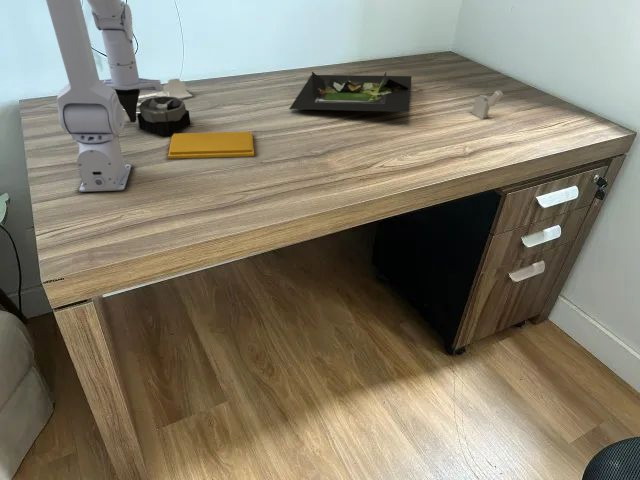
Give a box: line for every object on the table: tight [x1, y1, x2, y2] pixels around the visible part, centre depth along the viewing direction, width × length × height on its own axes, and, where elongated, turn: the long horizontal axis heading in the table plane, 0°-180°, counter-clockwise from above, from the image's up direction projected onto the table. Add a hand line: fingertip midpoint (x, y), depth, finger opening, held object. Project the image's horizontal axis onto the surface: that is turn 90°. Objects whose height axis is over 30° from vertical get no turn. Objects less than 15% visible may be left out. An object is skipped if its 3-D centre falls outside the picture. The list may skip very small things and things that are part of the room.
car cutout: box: [137, 78, 194, 109], centre depth 129 cm, size 15×7×4 cm, turn 126°
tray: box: [167, 131, 255, 160], centre depth 108 cm, size 10×18×1 cm, turn 99°
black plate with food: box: [289, 71, 413, 113], centre depth 134 cm, size 30×8×30 cm
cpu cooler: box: [136, 96, 191, 137], centre depth 114 cm, size 10×6×10 cm
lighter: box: [471, 89, 504, 120], centre depth 127 cm, size 7×2×8 cm, turn 31°
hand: (133, 120), depth 114 cm, fingers closed
